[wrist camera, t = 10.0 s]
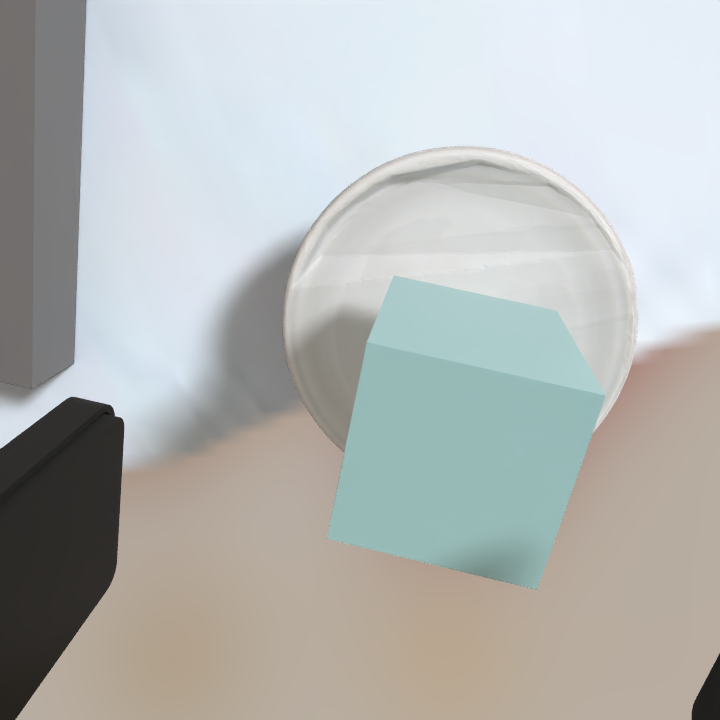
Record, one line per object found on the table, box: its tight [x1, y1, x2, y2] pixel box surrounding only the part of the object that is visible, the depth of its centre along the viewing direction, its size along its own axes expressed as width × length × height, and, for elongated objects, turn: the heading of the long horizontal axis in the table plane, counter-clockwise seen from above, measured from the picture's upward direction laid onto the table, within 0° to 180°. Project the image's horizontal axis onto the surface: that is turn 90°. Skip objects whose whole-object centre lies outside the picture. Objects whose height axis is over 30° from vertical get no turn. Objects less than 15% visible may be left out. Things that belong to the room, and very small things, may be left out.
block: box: [327, 275, 606, 590], centre depth 17 cm, size 4×4×8 cm
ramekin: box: [283, 146, 638, 452], centre depth 23 cm, size 11×11×5 cm
